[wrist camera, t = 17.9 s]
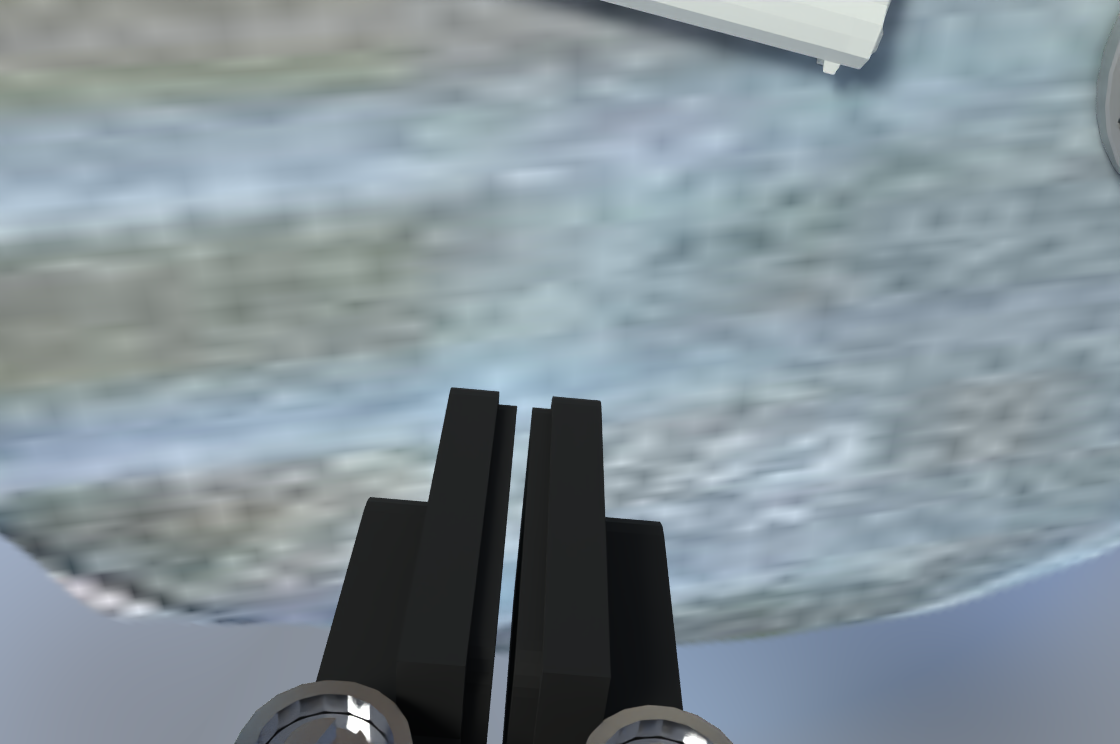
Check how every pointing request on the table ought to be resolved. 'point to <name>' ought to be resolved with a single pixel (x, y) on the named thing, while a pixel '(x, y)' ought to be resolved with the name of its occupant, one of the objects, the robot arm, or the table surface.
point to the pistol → (786, 24)
